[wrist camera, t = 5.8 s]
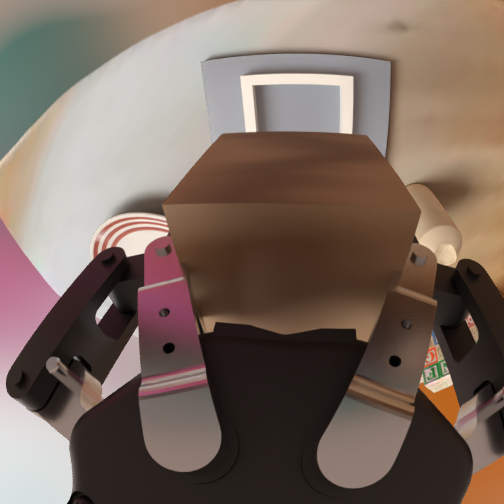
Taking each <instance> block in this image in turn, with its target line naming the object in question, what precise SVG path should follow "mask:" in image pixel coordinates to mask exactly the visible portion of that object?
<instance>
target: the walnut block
mask: <svg viewBox="0 0 504 504" xmlns="http://www.w3.org/2000/svg"><path fill="white" fill-rule="evenodd" d="M162 207H163V211H164V214H165V218H166V221H167V225H168V228H169V232H170V235H171V238H172V242H173V245H174V248H175V251H176V254H177V258H178V261H179V263H186V266H187V269H188V272H189V276H190V281H191V286H192V291H193V294H194V298H195V301H196V304H197V307H198V309H201V312H202V315H203V318H204V322H205V326H206V330H207V333H208V332H213V329H214V326H215V322H224V323H235V324H248V325H252V326H255V327H259V328H262V329H266V330H269V331H272V332H276V333H280V334H293V333H299V332H304V331H310V330H315V329H320V328H336V329H356V337H357V339H358V340H362V341H365V342H367V341H368V338H369V336H370V333H371V331H372V328H373V326H374V324H375V321H376V319H377V317H378V315H379V313H380V310H381V308H382V305H383V303H384V300H385V297H386V294H387V291H388V288H389V285H390V282H391V279H392V277H393V274H394V271H403V269H404V266H405V264H406V261H407V258H408V255H409V252H410V249H411V246H412V242H413V239H414V236H415V233H416V229H417V226H418V222H419V219H420V215H421V209H420V208H419V206H418V205H417V203H416V202H415V200H414V198H413V197H412V195H411V194H410V192H409V191H408V189H407V188H406V186H405V185H404V183H403V182H402V181H401V179H400V178H399V176H398V175H397V174H396V172H395V171H394V169H393V168H392V167H391V165H390V164H389V163H388V161H387V160H386V159H385V157H384V156H383V155H382V153H381V152H380V151H379V149H378V148H377V147H376V146H375V144H374V143H373V142H372V141H371V139H370V138H369V137H368V136H367V135H359V134H346V133H330V132H301V131H269V132H240V133H223V134H221V135H220V136H219V137H218V139H217V140H216V141H215V142H214V143H213V144H212V145H211V146H210V147H209V149H208V150H207V151H206V152H205V153H204V154H203V155H202V156H201V158H200V159H199V160H198V161H197V162H196V163H195V165H194V166H193V167H192V168H191V169H190V171H189V172H188V173H187V174H186V175H185V177H184V178H183V179H182V180H181V181H180V183H179V184H178V185H177V186H176V188H175V189H174V190H173V191H172V193H171V194H170V195H169V196H168V198H167V199H166V200H165V201H164V203H163V204H162Z"/></svg>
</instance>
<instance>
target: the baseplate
mask: <svg viewBox="0 0 504 504" xmlns="http://www.w3.org/2000/svg"><path fill="white" fill-rule="evenodd" d="M201 67H202V75H203V83H204V90H205V98H206V105H207V112H208V119H209V126H210V133H211V140H212V144H213V143H214V142H215V141H216V140H217V139H218V137H219V136H220V135H221V134H223V133H240V132H269V131H301V132H330V133H346V134H359V135H367V136H368V137H369V138H370V139H371V141H372V142H373V143H374V144H375V146H376V147H377V148H378V149H379V151H380V152H381V153H382V155H383V156H384V157H385V154H386V145H387V134H388V122H389V106H390V73H391V62H390V61H384V60H377V59H370V58H363V57H354V56H343V55H328V54H264V55H250V56H239V57H229V58H221V59H214V60H207V61H201Z"/></svg>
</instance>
